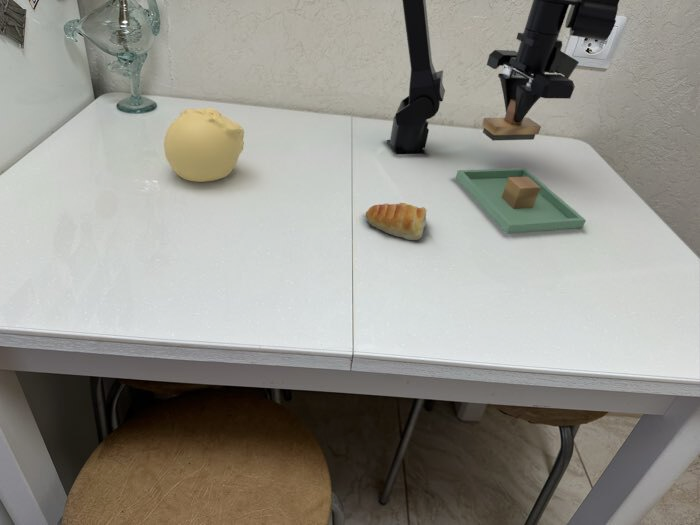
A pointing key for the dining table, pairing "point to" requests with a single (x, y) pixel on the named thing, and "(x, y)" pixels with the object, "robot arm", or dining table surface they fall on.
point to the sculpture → (203, 145)
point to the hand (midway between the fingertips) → (513, 119)
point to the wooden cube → (520, 192)
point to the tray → (541, 217)
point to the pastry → (398, 219)
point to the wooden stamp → (510, 126)
